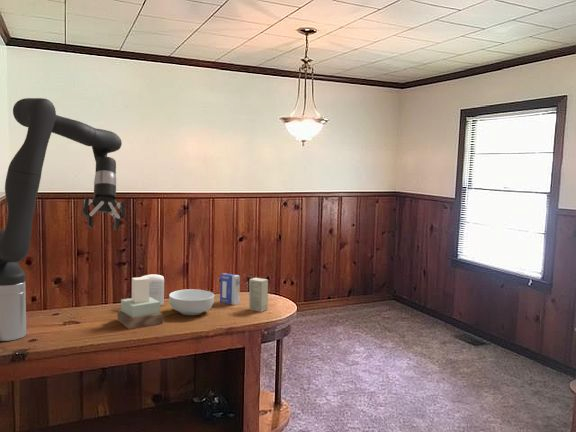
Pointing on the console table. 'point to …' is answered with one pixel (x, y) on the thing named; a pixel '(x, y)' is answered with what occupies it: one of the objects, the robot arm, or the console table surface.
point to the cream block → (140, 289)
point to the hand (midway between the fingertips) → (103, 228)
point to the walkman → (229, 288)
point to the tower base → (139, 320)
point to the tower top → (140, 307)
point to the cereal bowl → (191, 301)
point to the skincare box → (258, 294)
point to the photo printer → (156, 287)
